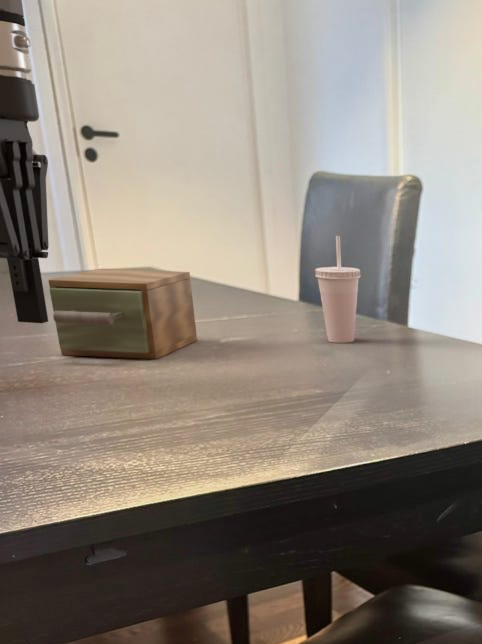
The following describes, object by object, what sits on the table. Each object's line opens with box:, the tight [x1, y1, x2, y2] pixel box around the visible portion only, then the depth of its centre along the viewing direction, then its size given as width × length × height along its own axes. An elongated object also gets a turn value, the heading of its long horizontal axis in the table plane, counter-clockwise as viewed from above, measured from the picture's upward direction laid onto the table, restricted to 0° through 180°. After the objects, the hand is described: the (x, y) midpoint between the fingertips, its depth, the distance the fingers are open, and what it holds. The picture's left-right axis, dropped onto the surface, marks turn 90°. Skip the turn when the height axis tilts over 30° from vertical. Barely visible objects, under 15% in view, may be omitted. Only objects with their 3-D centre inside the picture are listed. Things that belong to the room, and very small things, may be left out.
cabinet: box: [47, 268, 198, 360], centre depth 121 cm, size 15×13×9 cm
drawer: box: [49, 287, 151, 353], centre depth 118 cm, size 18×11×7 cm, turn 175°
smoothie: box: [314, 235, 362, 344], centre depth 129 cm, size 6×6×14 cm
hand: (33, 321), depth 102 cm, fingers closed
